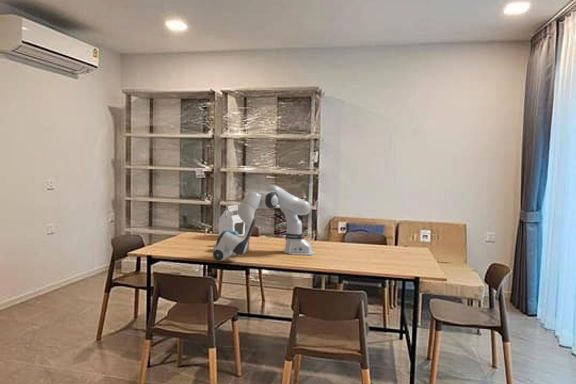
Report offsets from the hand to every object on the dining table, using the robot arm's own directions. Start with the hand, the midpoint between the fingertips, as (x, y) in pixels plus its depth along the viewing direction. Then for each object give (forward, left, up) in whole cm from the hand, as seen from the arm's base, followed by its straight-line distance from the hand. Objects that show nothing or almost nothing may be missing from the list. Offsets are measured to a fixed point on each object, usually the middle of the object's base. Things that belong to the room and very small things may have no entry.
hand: (233, 245), depth 292 cm
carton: (+5, -20, -8) cm, 22 cm away
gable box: (+24, -70, -8) cm, 75 cm away
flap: (0, -6, -7) cm, 9 cm away
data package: (+14, -35, -8) cm, 39 cm away
